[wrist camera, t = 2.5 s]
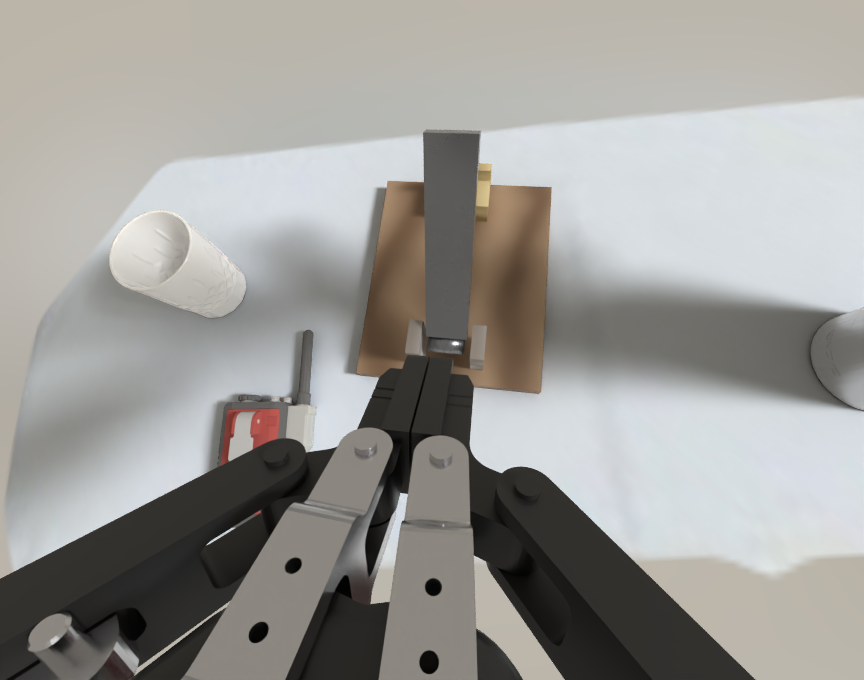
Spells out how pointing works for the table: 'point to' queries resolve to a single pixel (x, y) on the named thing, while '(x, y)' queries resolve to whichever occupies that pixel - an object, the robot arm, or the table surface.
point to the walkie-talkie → (269, 417)
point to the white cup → (175, 265)
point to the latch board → (490, 286)
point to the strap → (449, 234)
